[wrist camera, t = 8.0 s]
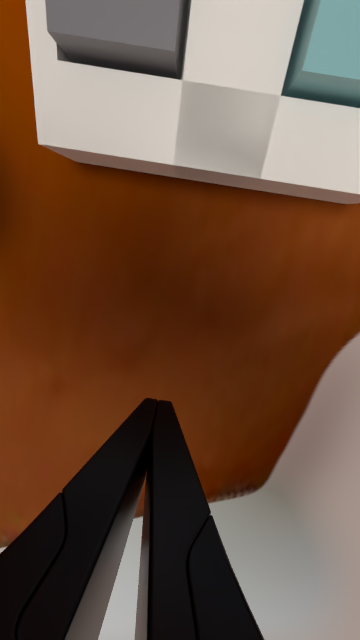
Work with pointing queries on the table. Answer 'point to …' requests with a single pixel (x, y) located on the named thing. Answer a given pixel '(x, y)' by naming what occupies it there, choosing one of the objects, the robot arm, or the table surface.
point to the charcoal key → (121, 33)
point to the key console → (202, 108)
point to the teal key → (326, 54)
